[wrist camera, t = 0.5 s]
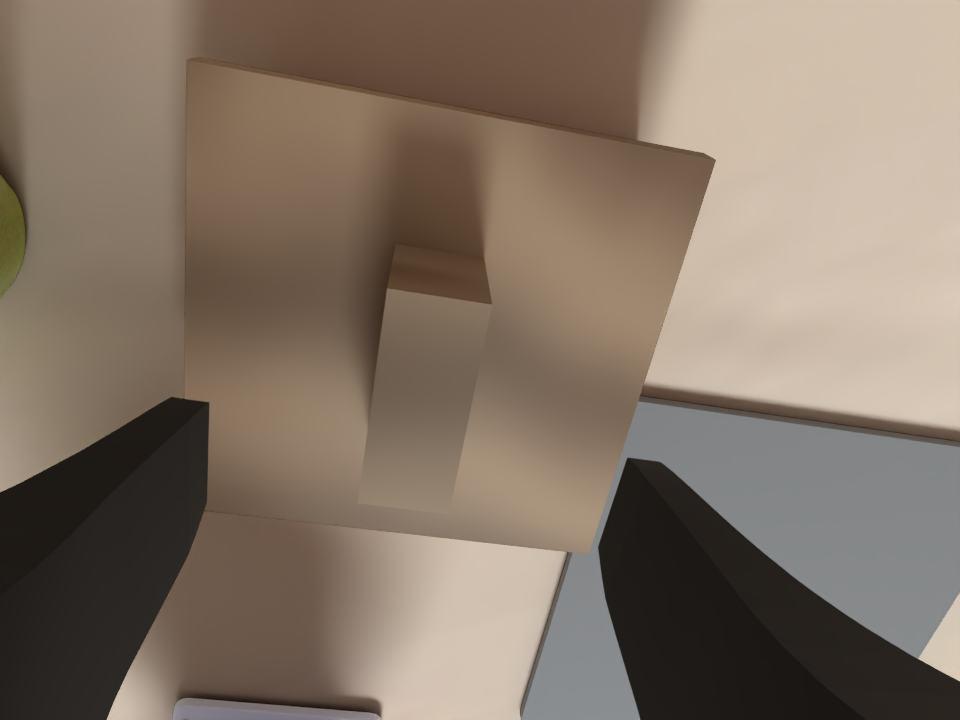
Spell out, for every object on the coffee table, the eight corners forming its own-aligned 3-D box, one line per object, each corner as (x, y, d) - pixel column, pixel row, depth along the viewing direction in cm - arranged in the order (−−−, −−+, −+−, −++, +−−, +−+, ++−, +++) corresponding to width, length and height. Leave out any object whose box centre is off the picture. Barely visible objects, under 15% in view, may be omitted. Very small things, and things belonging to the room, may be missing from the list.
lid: (583, 535, 21) (610, 632, 17) (193, 489, 19) (143, 585, 16) (703, 153, 16) (769, 189, 13) (199, 57, 15) (130, 70, 11)
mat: (856, 739, 31) (861, 748, 31) (519, 711, 29) (520, 720, 29) (1034, 452, 25) (1043, 459, 24) (617, 392, 23) (620, 398, 22)
